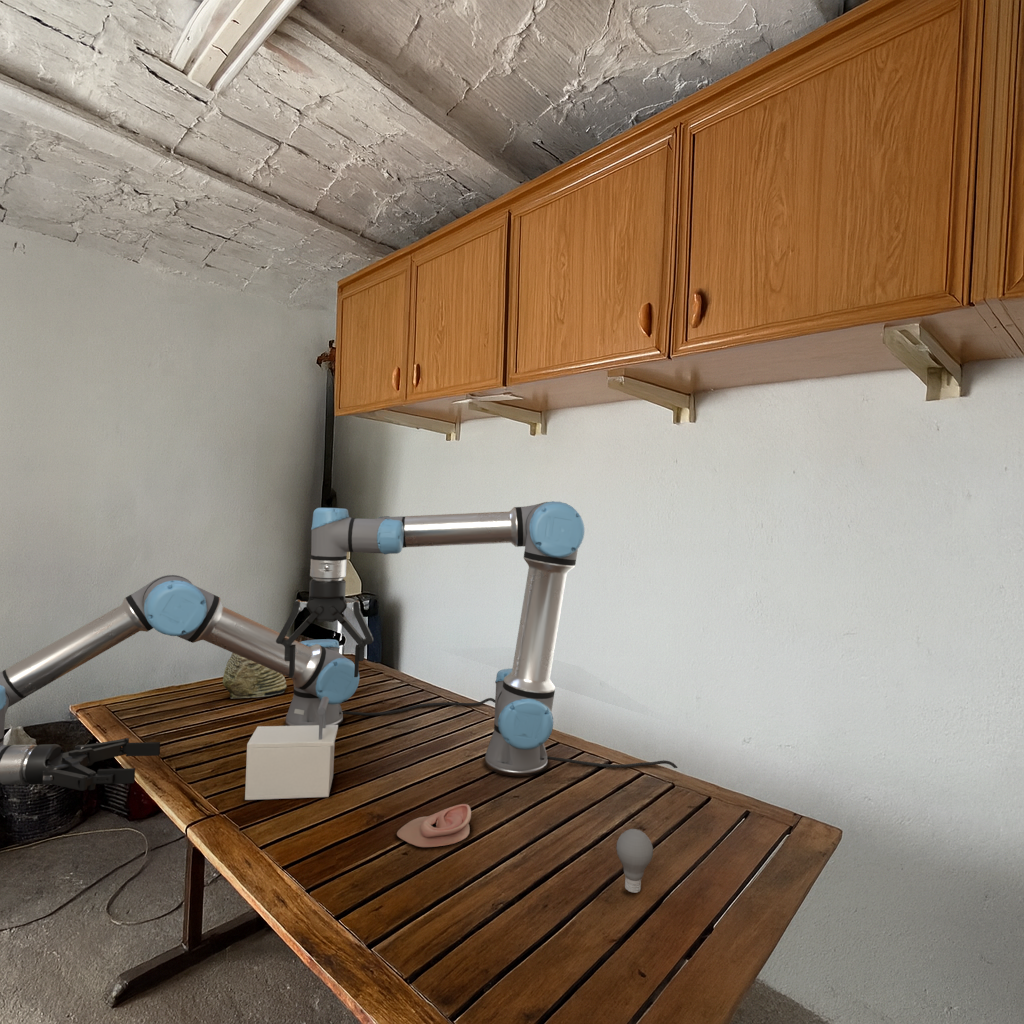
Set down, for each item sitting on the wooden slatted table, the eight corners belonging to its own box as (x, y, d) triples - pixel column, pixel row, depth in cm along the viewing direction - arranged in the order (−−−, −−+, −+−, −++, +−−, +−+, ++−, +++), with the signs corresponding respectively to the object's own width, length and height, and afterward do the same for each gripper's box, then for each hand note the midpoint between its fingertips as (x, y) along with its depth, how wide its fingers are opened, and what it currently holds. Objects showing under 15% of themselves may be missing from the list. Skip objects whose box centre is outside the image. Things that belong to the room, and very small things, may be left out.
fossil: (218, 695, 195) (220, 647, 195) (278, 685, 208) (279, 640, 207) (228, 703, 189) (230, 653, 188) (289, 692, 201) (290, 645, 201)
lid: (338, 728, 144) (339, 694, 144) (333, 746, 134) (335, 709, 134) (257, 730, 141) (258, 695, 140) (246, 748, 131) (248, 710, 130)
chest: (333, 776, 144) (335, 728, 144) (328, 797, 134) (330, 746, 134) (255, 778, 141) (257, 730, 141) (244, 800, 131) (246, 748, 131)
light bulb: (610, 879, 108) (613, 822, 108) (644, 879, 109) (647, 822, 109) (619, 902, 102) (622, 840, 102) (655, 901, 103) (658, 840, 103)
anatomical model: (391, 821, 117) (413, 793, 128) (390, 842, 117) (412, 813, 128) (460, 832, 114) (476, 802, 125) (459, 853, 114) (475, 822, 126)
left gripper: (64, 757, 140) (167, 755, 144) (-6, 813, 116) (121, 808, 120) (65, 724, 140) (169, 722, 144) (-5, 772, 116) (122, 769, 120)
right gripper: (264, 579, 132) (260, 681, 132) (386, 582, 136) (382, 680, 137) (271, 575, 139) (267, 671, 139) (386, 577, 144) (382, 670, 144)
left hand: (147, 761), depth 132 cm, fingers open, 13 cm apart
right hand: (324, 675), depth 138 cm, fingers open, 13 cm apart
